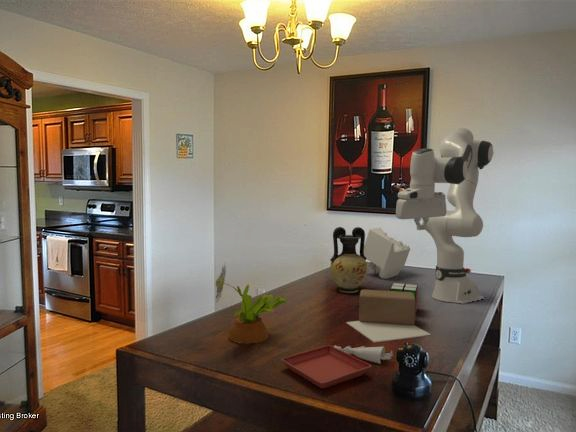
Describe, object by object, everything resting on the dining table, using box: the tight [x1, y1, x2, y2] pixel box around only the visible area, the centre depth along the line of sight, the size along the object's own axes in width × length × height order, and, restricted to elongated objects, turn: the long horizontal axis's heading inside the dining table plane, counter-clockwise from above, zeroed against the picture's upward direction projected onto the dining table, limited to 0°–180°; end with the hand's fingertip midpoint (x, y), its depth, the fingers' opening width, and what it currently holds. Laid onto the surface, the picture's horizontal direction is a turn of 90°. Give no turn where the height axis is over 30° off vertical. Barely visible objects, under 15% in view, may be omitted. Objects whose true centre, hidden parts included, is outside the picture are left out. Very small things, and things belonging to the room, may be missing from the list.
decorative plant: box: [215, 262, 289, 344], centre depth 149 cm, size 27×24×25 cm
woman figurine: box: [333, 345, 394, 365], centre depth 135 cm, size 12×4×18 cm
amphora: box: [329, 226, 368, 294], centre depth 211 cm, size 18×17×30 cm
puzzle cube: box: [389, 282, 419, 316], centre depth 182 cm, size 10×10×10 cm
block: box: [358, 289, 416, 325], centre depth 169 cm, size 10×10×20 cm
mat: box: [346, 320, 432, 344], centre depth 160 cm, size 22×20×1 cm
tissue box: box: [364, 227, 411, 280], centre depth 243 cm, size 20×16×25 cm
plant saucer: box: [281, 344, 372, 389], centre depth 125 cm, size 18×18×3 cm
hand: (421, 229), depth 169 cm, fingers closed
